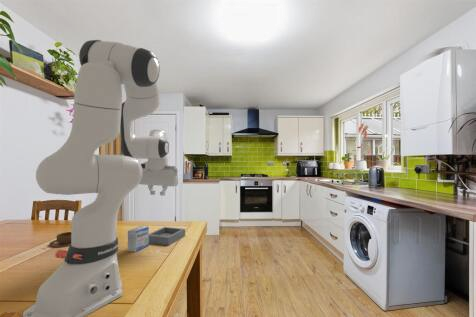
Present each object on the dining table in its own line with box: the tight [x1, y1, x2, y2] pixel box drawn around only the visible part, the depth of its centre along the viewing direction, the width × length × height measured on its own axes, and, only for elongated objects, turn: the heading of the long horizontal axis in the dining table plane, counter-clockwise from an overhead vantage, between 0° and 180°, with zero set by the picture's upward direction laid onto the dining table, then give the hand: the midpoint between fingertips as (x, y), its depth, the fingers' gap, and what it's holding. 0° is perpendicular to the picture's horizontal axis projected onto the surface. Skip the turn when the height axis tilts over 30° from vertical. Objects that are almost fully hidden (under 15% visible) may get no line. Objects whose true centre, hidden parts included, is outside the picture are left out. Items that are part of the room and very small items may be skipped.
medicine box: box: [127, 225, 150, 253], centre depth 102 cm, size 8×4×9 cm, turn 161°
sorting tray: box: [149, 226, 186, 247], centre depth 114 cm, size 12×14×4 cm
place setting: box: [41, 231, 71, 250], centre depth 104 cm, size 18×20×6 cm
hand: (157, 195), depth 110 cm, fingers open, 4 cm apart
